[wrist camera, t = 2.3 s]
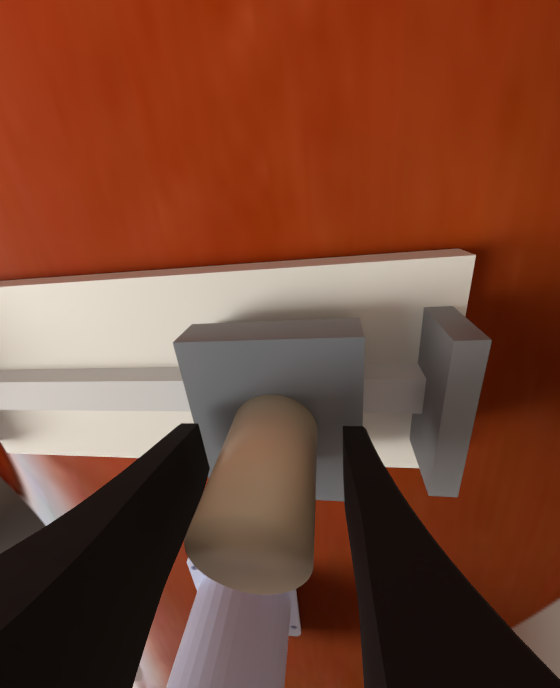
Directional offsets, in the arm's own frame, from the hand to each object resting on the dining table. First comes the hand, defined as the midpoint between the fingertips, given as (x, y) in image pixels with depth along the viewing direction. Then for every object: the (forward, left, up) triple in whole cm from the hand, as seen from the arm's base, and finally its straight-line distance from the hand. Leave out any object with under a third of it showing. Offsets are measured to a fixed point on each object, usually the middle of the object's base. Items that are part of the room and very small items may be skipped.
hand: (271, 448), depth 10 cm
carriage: (0, 0, -4) cm, 4 cm away
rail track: (0, +5, -6) cm, 8 cm away
